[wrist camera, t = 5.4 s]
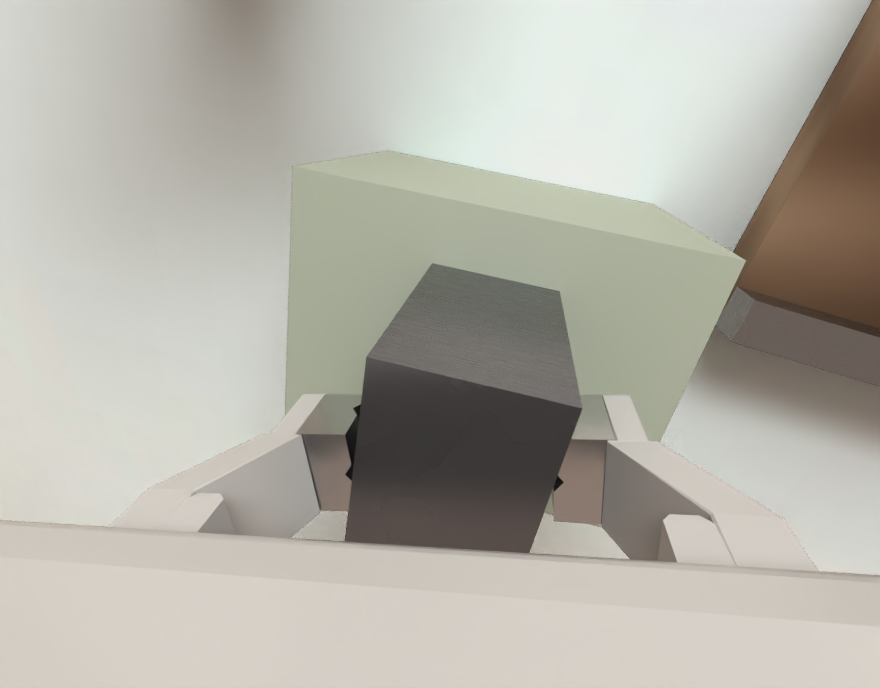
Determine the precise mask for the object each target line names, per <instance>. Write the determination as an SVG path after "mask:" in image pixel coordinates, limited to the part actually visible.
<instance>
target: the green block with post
mask: <svg viewBox="0 0 880 688" xmlns="http://www.w3.org/2000/svg"><path fill="white" fill-rule="evenodd" d="M745 262H746V260H744V259H743V258H741V257H739V256H738V255H736V254H735V253H733V252H731V251H730V250H728V249H726V248H725V247H723V246H721V245H720V244H718V243H717V242H715V241H713V240H712V239H710V238H708V237H707V236H705V235H703V234H702V233H700V232H698V231H697V230H695V229H694V228H692V227H690V226H689V225H687V224H685V223H684V222H682V221H680V220H679V219H677V218H676V217H674V216H672V215H671V214H669V213H667V212H666V211H664V210H662V209H661V208H659V207H657V206H656V205H654V204H650V203H645V202H640V201H635V200H630V199H625V198H620V197H615V196H610V195H605V194H600V193H595V192H591V191H586V190H581V189H576V188H571V187H566V186H561V185H556V184H551V183H546V182H541V181H536V180H531V179H526V178H521V177H516V176H511V175H506V174H501V173H496V172H491V171H486V170H482V169H477V168H472V167H467V166H462V165H457V164H452V163H447V162H442V161H437V160H432V159H427V158H422V157H417V156H412V155H407V154H402V153H397V152H392V151H382V152H376V153H370V154H364V155H357V156H351V157H345V158H339V159H333V160H327V161H321V162H315V163H309V164H303V165H297V166H292V198H291V231H290V263H289V296H288V329H287V361H286V394H285V415H286V414H287V413H288V412H289V410H290V409H291V408H292V407H293V406H294V405H295V403H296V402H297V401H298V400H299V399H300V397H301V396H302V395H303V394H310V393H327V394H362V398H361V407H360V416H359V424H358V433H357V441H356V450H355V458H354V467H353V476H352V484H351V493H350V501H349V510H348V519H347V527H346V536H345V542H359V543H375V544H391V545H407V546H423V547H439V548H454V549H470V550H486V551H502V552H518V553H529V552H530V549H531V546H532V544H533V541H534V538H535V535H536V533H537V530H538V527H539V525H540V522H541V519H542V517H543V514H544V513H548V514H552V515H553V505H552V490H553V487H554V484H555V481H556V479H557V476H558V473H559V471H560V468H561V465H562V463H563V460H564V457H565V454H566V452H567V449H568V446H569V444H570V441H571V438H572V436H573V433H574V430H575V427H576V425H577V422H578V419H579V417H580V414H581V411H582V403H581V398H580V395H598V394H602V395H608V394H628V395H630V397H631V399H632V401H633V404H634V406H635V409H636V411H637V413H638V416H639V418H640V420H641V423H642V425H643V428H644V430H645V432H646V435H647V437H648V440H649V441H657V442H660V440H661V438H662V436H663V434H664V432H665V430H666V428H667V426H668V423H669V421H670V419H671V417H672V415H673V413H674V411H675V409H676V407H677V405H678V402H679V400H680V398H681V396H682V394H683V392H684V390H685V388H686V386H687V384H688V381H689V379H690V377H691V375H692V373H693V371H694V369H695V367H696V365H697V363H698V360H699V358H700V356H701V354H702V352H703V350H704V348H705V346H706V344H707V342H708V340H709V337H710V335H711V333H712V331H713V329H714V327H715V325H716V323H717V321H718V319H719V316H720V314H721V312H722V310H723V308H724V306H725V304H726V302H727V300H728V298H729V295H730V293H731V291H732V289H733V287H734V285H735V283H736V281H737V279H738V277H739V274H740V272H741V270H742V268H743V266H744V264H745ZM591 525H595V526H598V527H602V525H599V524H591Z"/></svg>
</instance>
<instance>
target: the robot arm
mask: <svg viewBox="0 0 880 688" xmlns="http://www.w3.org/2000/svg"><path fill="white" fill-rule="evenodd" d="M361 398H362V394H327V393H310V394H303V395H302V396H301V397H300V399H299V400H298V401H297V402H296V403H295V405H294V406H293V407H292V408H291V409H290V410H289V412H288V413H287V414H286V415H285V416H284V418H283V419H282V420H281V421H280V422H279V424H278V425H277V426H276V427H275V428H274V429H273V431H272V432H271V433H270V434H261V435H259V436H257V437H255V438H253V439H251V440H249V441H247V442H245V443H242V444H240V445H238V446H236V447H234V448H232V449H230V450H228V451H226V452H224V453H221V454H219V455H217V456H215V457H213V458H211V459H209V460H207V461H205V462H203V463H200V464H198V465H196V466H194V467H192V468H190V469H188V470H186V471H184V472H182V473H180V474H177V475H175V476H173V477H171V478H169V479H167V480H165V481H163V482H161V483H159V484H156V485H154V486H152V487H150V488H148V489H147V490H146V491H145V492H144V493H143V494H142V495H141V496H140V497H139V498H138V499H136V500H135V501H134V502H133V503H132V504H131V505H130V506H129V507H128V508H127V509H126V510H125V511H124V512H123V513H122V514H121V515H120V516H119V517H118V518H117V519H115V520H114V521H113V522H112V523H111V524H110V525H109V526H108V527H105V526H89V525H73V524H57V523H41V522H25V521H9V520H0V688H880V575H868V574H853V573H837V572H821V571H819V570H818V569H817V567H816V566H815V565H814V563H813V562H812V560H811V559H810V557H809V556H808V554H807V553H806V551H805V550H804V548H803V547H802V545H801V544H800V542H799V541H798V539H797V538H796V536H795V535H794V533H793V532H792V530H791V529H790V527H789V526H788V524H787V523H786V521H785V520H784V518H783V517H781V516H779V515H778V514H776V513H774V512H773V511H771V510H769V509H768V508H766V507H764V506H763V505H761V504H759V503H758V502H756V501H755V500H753V499H751V498H750V497H748V496H746V495H745V494H743V493H741V492H740V491H738V490H736V489H735V488H733V487H731V486H730V485H728V484H727V483H725V482H723V481H722V480H720V479H718V478H717V477H715V476H713V475H712V474H710V473H708V472H707V471H705V470H703V469H702V468H700V467H699V466H697V465H695V464H694V463H692V462H690V461H689V460H687V459H685V458H684V457H682V456H680V455H679V454H677V453H675V452H674V451H672V450H671V449H669V448H667V447H666V446H664V445H662V444H661V443H659V442H657V441H649V440H648V437H647V435H646V432H645V430H644V428H643V425H642V423H641V420H640V418H639V416H638V413H637V411H636V409H635V406H634V404H633V401H632V399H631V397H630V395H628V394H608V395H602V394H598V395H580V398H581V403H582V411H581V414H580V417H579V419H578V422H577V425H576V427H575V430H574V433H573V436H572V438H571V441H570V444H569V446H568V449H567V452H566V454H565V457H564V460H563V463H562V465H561V468H560V471H559V473H558V476H557V479H556V481H555V484H554V487H553V490H552V505H553V516H554V521H560V522H573V523H586V524H599V525H602V528H603V529H604V530H605V531H606V532H607V534H608V535H609V536H610V537H611V538H612V539H613V540H614V541H615V543H616V544H617V545H618V546H619V547H620V548H621V549H622V551H623V552H624V553H625V554H626V555H627V556H628V557H629V559H615V558H599V557H583V556H566V555H550V554H534V553H518V552H502V551H486V550H470V549H454V548H439V547H423V546H407V545H391V544H375V543H359V542H343V541H327V540H311V539H295V538H291V537H292V536H293V535H294V534H295V533H297V532H298V531H299V530H300V529H301V528H303V527H304V526H305V525H306V524H307V523H309V522H310V521H311V520H312V519H313V518H314V517H316V516H317V515H318V514H319V513H320V510H322V511H348V510H349V501H350V493H351V484H352V476H353V467H354V458H355V450H356V441H357V433H358V424H359V416H360V407H361Z"/></svg>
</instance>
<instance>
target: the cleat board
mask: <svg viewBox="0 0 880 688" xmlns="http://www.w3.org/2000/svg"><path fill="white" fill-rule="evenodd" d="M733 253H735V254H736V255H738V256H739V257H741V258H743V259H744V260H746V262H745V264H744V266H743V268H742V270H741V272H740V274H739V277H738V279H737V281H736V283H735V285H734V287H733V289H732V291H731V293H730V295H729V298H728V300H727V302H726V304H725V306H724V308H723V310H722V312H721V314H720V316H719V319H718V321H717V323H716V326H717V327H718V328H719V329H720V330H721V332H722V333H723V334H724V335H725V336H726V337H727V338H728V339H729V340H730V341H731V342H734V343H737V344H740V345H744V346H747V347H750V348H754V349H757V350H760V351H764V352H767V353H770V354H774V355H777V356H780V357H784V358H787V359H790V360H794V361H797V362H800V363H804V364H807V365H810V366H813V367H817V368H820V369H823V370H827V371H830V372H833V373H837V374H840V375H843V376H847V377H850V378H853V379H857V380H860V381H863V382H867V383H870V384H873V385H877V386H880V0H872V2H871V4H870V6H869V8H868V9H867V11H866V13H865V15H864V17H863V19H862V20H861V22H860V24H859V26H858V28H857V29H856V31H855V33H854V35H853V37H852V38H851V40H850V42H849V44H848V46H847V47H846V49H845V51H844V53H843V55H842V56H841V58H840V60H839V62H838V64H837V66H836V67H835V69H834V71H833V73H832V75H831V76H830V78H829V80H828V82H827V84H826V85H825V87H824V89H823V91H822V93H821V94H820V96H819V98H818V100H817V102H816V103H815V105H814V107H813V109H812V111H811V113H810V114H809V116H808V118H807V120H806V122H805V123H804V125H803V127H802V129H801V131H800V132H799V134H798V136H797V138H796V140H795V141H794V143H793V145H792V147H791V149H790V150H789V152H788V154H787V156H786V158H785V160H784V161H783V163H782V165H781V167H780V169H779V170H778V172H777V174H776V176H775V178H774V179H773V181H772V183H771V185H770V187H769V188H768V190H767V192H766V194H765V196H764V197H763V199H762V201H761V203H760V205H759V207H758V208H757V210H756V212H755V214H754V216H753V217H752V219H751V221H750V223H749V225H748V226H747V228H746V230H745V232H744V234H743V235H742V237H741V239H740V241H739V243H738V244H737V246H736V248H735V250H734V252H733Z"/></svg>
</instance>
